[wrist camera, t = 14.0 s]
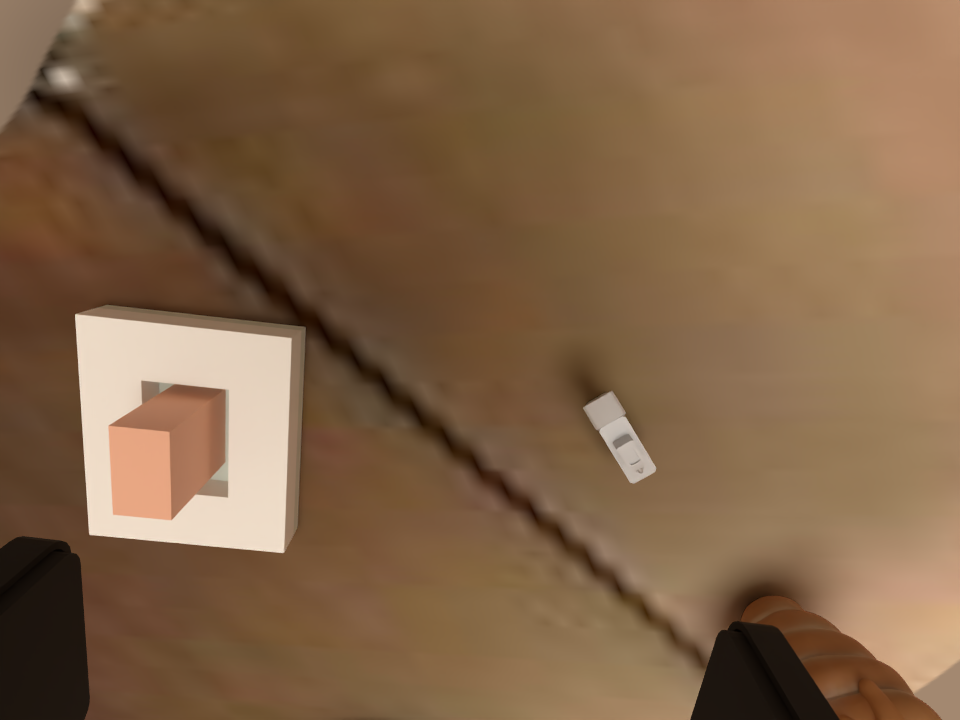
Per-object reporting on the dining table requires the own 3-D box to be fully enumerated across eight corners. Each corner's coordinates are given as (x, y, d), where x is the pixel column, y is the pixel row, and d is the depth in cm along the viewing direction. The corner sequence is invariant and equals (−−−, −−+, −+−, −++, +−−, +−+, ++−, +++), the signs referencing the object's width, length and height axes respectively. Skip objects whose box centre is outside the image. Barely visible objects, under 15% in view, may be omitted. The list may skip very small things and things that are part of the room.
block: (176, 383, 36) (108, 425, 29) (225, 388, 36) (169, 432, 29) (177, 457, 37) (112, 514, 31) (225, 462, 38) (171, 520, 31)
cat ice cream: (773, 535, 41) (998, 786, 23) (840, 603, 42) (1098, 885, 25) (676, 613, 42) (819, 903, 25) (744, 675, 44) (923, 989, 26)
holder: (107, 304, 36) (75, 314, 33) (305, 326, 36) (291, 338, 33) (117, 510, 39) (89, 534, 36) (297, 527, 40) (284, 552, 37)
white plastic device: (637, 441, 39) (679, 502, 31) (614, 454, 39) (649, 517, 31) (585, 353, 37) (614, 394, 29) (561, 367, 37) (584, 411, 30)
